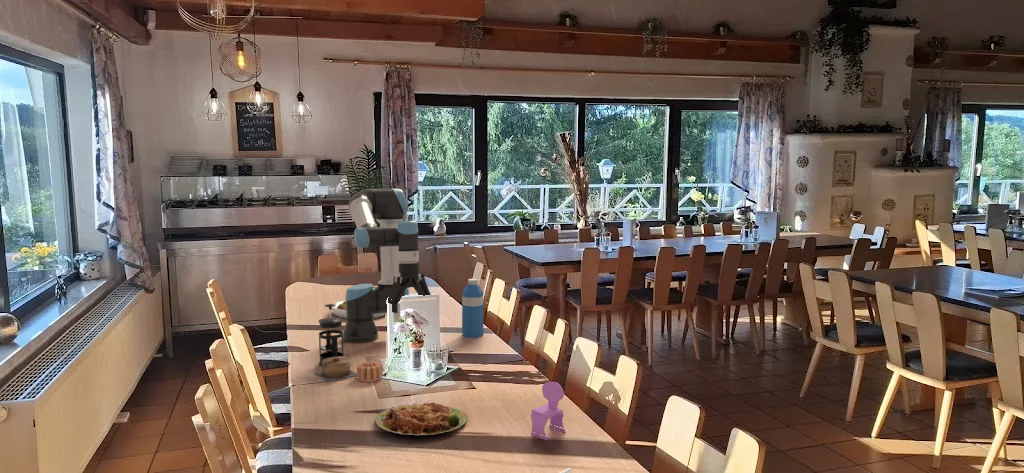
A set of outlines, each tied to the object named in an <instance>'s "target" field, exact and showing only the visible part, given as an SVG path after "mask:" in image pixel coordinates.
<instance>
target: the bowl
mask: <svg viewBox="0 0 1024 473" xmlns="http://www.w3.org/2000/svg"><path fill="white" fill-rule="evenodd" d="M332 304H335V305H336V306H334V307H332V310H331V312H333V314H334V315H335V316H337V318H341V319H346V300H345V299H342V300H339V301H335V302H333V303H332ZM387 315H388V314H386V313H382V314H374V319H377V318H378V319H379V318H382V317H385V316H387Z"/></svg>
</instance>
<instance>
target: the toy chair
mask: <svg viewBox="0 0 1024 473" xmlns="http://www.w3.org/2000/svg"><path fill="white" fill-rule="evenodd" d="M541 390H542V391H541V392H542V396H543V398H544V399H546V400H547V402H548V403H547V404H544V405H542V406H538V407H536V408H533V409H531V413H530V418H531V419H530V420H531V433H530V435H532V436H535V437H536V438H540V439H542V440H545V441H548V436H547V435H546V432H545V429H546V424H547V423H548V421H549V419H550V422H549V428H551V429H553V430H557V431H559V432H562V433H564V434H566V430H565V429H566V428H565V426H564V424H563V423H564V422H563V419H564V410H563V409H561V408H559V407H558V405H559V402H560V401H561V400H563V399H564V396H565V392H564V390H563V388H562V386H561V384H559V382H556V381H547V382H545V383H543V385H542V387H541ZM551 424H552V425H551ZM554 425H555V426H554ZM556 426H558V427H556ZM559 427H562V428H564V429H562V428H559ZM534 432H535V433H534ZM540 434H541V435H540ZM542 435H543V436H542ZM545 436H546V437H545Z"/></svg>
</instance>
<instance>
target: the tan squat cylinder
mask: <svg viewBox="0 0 1024 473" xmlns="http://www.w3.org/2000/svg"><path fill="white" fill-rule="evenodd" d="M321 371H322V375H323V376H324V377H326V378H342V377H346V376H348V375H350V373H351V371H352V370H351V359H350V357H346V356H344V357H330V358H326V359H324V360H323V361H322V366H321Z"/></svg>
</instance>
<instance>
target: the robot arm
mask: <svg viewBox="0 0 1024 473" xmlns="http://www.w3.org/2000/svg"><path fill="white" fill-rule="evenodd" d="M347 208H348V211H349V212H348V213H349V214H350V216H351V217H352V218H353V220H354V222H355V225H356V228H355V229H354V236H353V237H354V240H353V241H354V245H355V247H356V248H366V249H367V248H380V276H381V278H380V279H379V281H378V282H377V286H374V285H373V284H372V283H360V284H356V285H352V286H350V287H348V288H347V289H346V291H345V299H344V300H346V318H345V319H346V321H345V325H344V328H343V342H347V343H353V344H362V343H363V344H364V343H369V342H373V341H377V340H378V339H379V332H378V329H377V325H376V323H375V318H374V314H382V313H387V304H386V300H387V298H388V297H389V298H388V303H390V304H392V312H393V313H392V314H393V322H395V323H399V322H398V321H399V316H400V317H401V312H400V304H398V302H399V301H400V299H401V297H402V296H405V295H409V296H410V289H409V288H413V289H414V290H415V292H416V293H417V295H418V296H419V295H423V296H425V295H431V296H432V294H431V292H430V288H429V287H428V284H427V281H426V279H425V274H424V273H419V272H420V263H419V260H420V258H419V257H420V256H419V226H418V222H417V221H416V220H408V221H407V220H406V221H405V220H404V216H407V214H408V206H407V199H406V195H405V193H404V191H403V190H402V189H400V188H393V187H391V188H366V189H363V190H360V191H358V192H356V193H355V194H353V196H352V197H351V198H350V199H349V202H348V207H347ZM374 217H375V218H376V219H375V218H374ZM403 220H404V221H403ZM376 222H377V223H378V224H379V226H378V225H377V223H376ZM418 273H419V274H418ZM391 299H392V300H391Z"/></svg>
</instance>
